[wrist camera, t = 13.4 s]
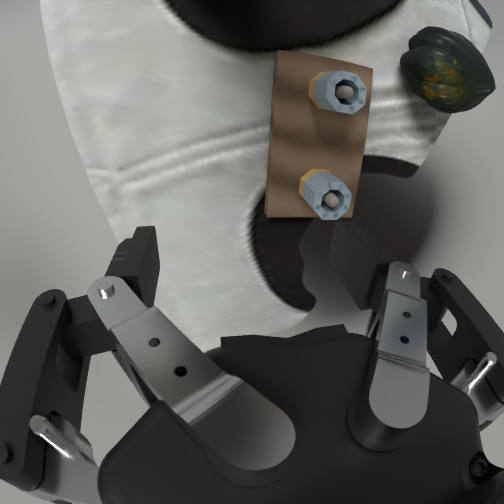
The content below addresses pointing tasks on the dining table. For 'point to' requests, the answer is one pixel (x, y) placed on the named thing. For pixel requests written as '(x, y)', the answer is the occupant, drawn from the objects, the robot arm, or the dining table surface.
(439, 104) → the squash
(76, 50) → the dining table surface
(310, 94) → the seated sleeve
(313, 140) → the pin board
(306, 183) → the slate sleeve
